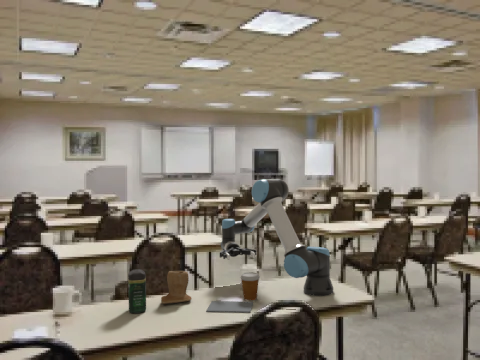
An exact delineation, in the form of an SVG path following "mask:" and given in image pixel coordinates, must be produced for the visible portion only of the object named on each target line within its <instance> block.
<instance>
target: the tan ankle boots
mask: <svg viewBox="0 0 480 360" xmlns="http://www.w3.org/2000/svg"><path fill="white" fill-rule="evenodd" d="M189 281H190V280H189V273H188V271H185V270H173V271H172V270H171V271H170V270H169V271H168V273H167V277H166V282H167V287H168V294H166V295H162V296H161V299H160V301H161V305H169V304H177V303H184V302H185V303H186V302H189V301H192V296H190V295H188V294H187V288H188V285H189Z"/></svg>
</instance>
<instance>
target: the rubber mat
mask: <svg viewBox="0 0 480 360" xmlns="http://www.w3.org/2000/svg"><path fill="white" fill-rule="evenodd" d="M253 305H254V301H236V300H235V301H233V300H232V301H231V300H229V301H228V300H227V301H226V300H211V302H210V303H209V305H208V306H207V309H206V310H205V312H206V313H243V314H245V313H246V314H248V313H249V314H251V312H252V308H253Z"/></svg>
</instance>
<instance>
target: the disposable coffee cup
mask: <svg viewBox="0 0 480 360" xmlns="http://www.w3.org/2000/svg"><path fill="white" fill-rule="evenodd" d="M239 278H240V279H241V280H240V281H241V285H242V286H241V288H242V293H243V299H244V300H245V301H255V300H257V297H258V288H259V279H260V274H259V273H258V272H249V271H248V272H247V271H246V272H243V273H241V274H240V277H239Z"/></svg>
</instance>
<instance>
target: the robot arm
mask: <svg viewBox="0 0 480 360" xmlns="http://www.w3.org/2000/svg"><path fill="white" fill-rule="evenodd" d="M289 189H290V188H289V185H288V183H287V182H286V181H285V180H283V179H280V178H271V179H270V178H269V179H265V178H263V179H259V180H256V181H255V182H254V183H253V184H252V188H251V196H252V199H253V201H255V202H256V203H257V205H255V207H254V208H252V209H251V211H249V213H247V215H246V216H245V217H243V219H241V220H237V221H236V220H235V218H225V219H222V220H221V236H222V237H221V242H220V247H221V249H222V250H220V251H219V258H223V260H227V261H231V257H232V258H235V257H238V256H243V255H244V256H250V257H251V258H253V259H256V256H257V251H258V250H257V249H251V248H248V247H245V248H241V247H240V245H239V244H238V243H236V235H240V234H247V233H248V234H249V233H251V232H253V231H254V230H255V227H256V225H257V224H258V223H259V222H260V221H261V220H262V219H263V218H264V217H265V216H266V215H267V214H268V217H269V218H270V221H271V224H272V226H273V227H274V230H275V232H276V235H277V236H278V239H279V241H280V242H281V245H282V246H283V249H284V253H283V256H284V260H283V268H284V270H285V272H286V273H287V274H288V276H289V277H292V278H295V279H299V278H305V277H306V278H305V282H304V285H303V293H305V294H307V295H310V296H314V297H315V296H316V297H325V296H331V295H332V294H334V286H333V283H332V280H331V276H330V275H331V273H330V272H331V269H330V265H331V263H330V259H331V258H330V257H331V255H330V250H329V249H328V248H326V247H322V246H321V247H320V246H307V247H306V245H304V244H302V243H301V241H300V239H299V237H298V235H297V233H296V230H295V229H294V227H293V224H292V223H291V220H290V218H289V216H288V214H287V212H286V210H285V208H284V206H283V202H284V201H285V199H287V197H288V195H289V191H290V190H289Z"/></svg>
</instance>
